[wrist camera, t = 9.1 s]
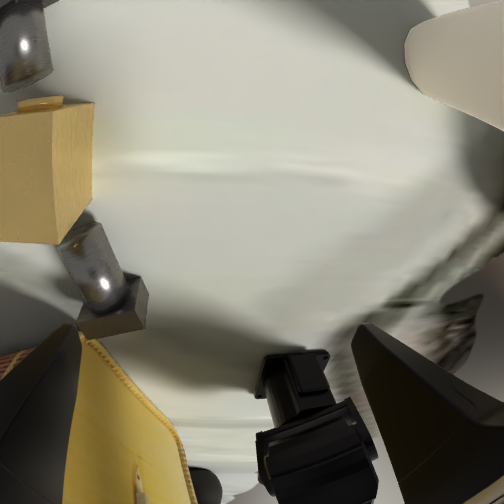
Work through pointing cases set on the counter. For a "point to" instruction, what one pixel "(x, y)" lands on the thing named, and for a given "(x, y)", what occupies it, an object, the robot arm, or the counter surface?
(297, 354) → the robot arm
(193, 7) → the counter surface
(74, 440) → the picnic basket
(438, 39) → the foam cup
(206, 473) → the cola bottle
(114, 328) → the shaft
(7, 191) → the tan block
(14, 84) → the shaft
